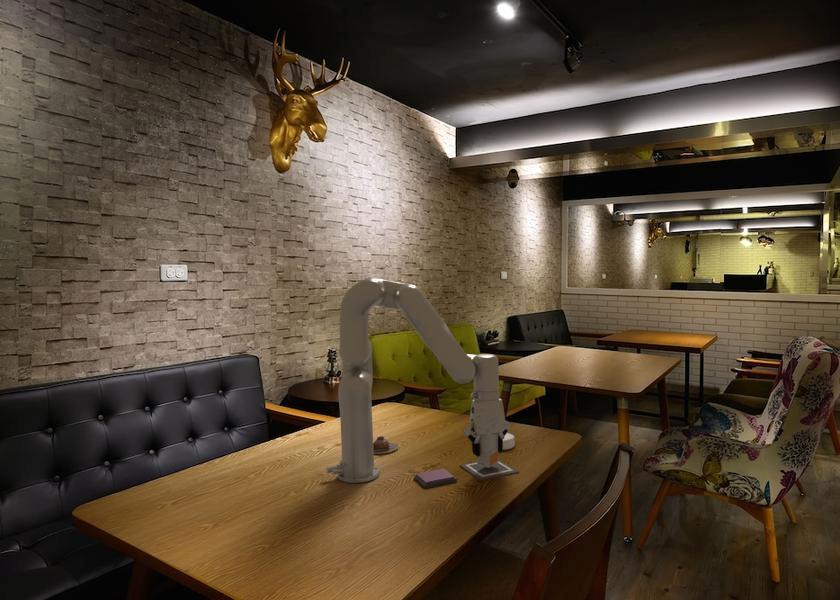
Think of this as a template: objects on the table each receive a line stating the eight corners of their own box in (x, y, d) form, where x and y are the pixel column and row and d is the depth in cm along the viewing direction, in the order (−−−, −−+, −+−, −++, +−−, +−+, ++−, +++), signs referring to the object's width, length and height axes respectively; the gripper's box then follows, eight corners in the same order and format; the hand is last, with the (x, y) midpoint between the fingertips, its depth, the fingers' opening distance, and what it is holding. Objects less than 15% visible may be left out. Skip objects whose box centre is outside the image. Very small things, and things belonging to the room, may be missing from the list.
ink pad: (424, 488, 149) (424, 483, 149) (414, 478, 157) (413, 473, 157) (456, 481, 153) (456, 476, 153) (444, 472, 161) (444, 467, 161)
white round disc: (513, 441, 189) (513, 431, 189) (515, 450, 179) (515, 440, 179) (485, 441, 190) (485, 431, 190) (485, 450, 180) (485, 440, 180)
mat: (480, 480, 154) (480, 478, 154) (460, 466, 166) (459, 464, 166) (518, 472, 159) (518, 470, 159) (496, 459, 171) (496, 457, 171)
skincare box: (489, 468, 158) (488, 428, 158) (476, 465, 161) (476, 426, 160) (499, 462, 163) (498, 423, 162) (487, 459, 166) (486, 421, 165)
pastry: (397, 456, 178) (396, 442, 178) (361, 457, 178) (361, 443, 178) (398, 444, 190) (398, 431, 190) (365, 445, 190) (364, 432, 190)
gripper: (466, 401, 154) (468, 461, 155) (517, 394, 161) (518, 452, 162) (455, 396, 161) (456, 453, 162) (504, 389, 168) (505, 445, 169)
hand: (487, 452), depth 162 cm, fingers closed on skincare box, 7 cm apart
